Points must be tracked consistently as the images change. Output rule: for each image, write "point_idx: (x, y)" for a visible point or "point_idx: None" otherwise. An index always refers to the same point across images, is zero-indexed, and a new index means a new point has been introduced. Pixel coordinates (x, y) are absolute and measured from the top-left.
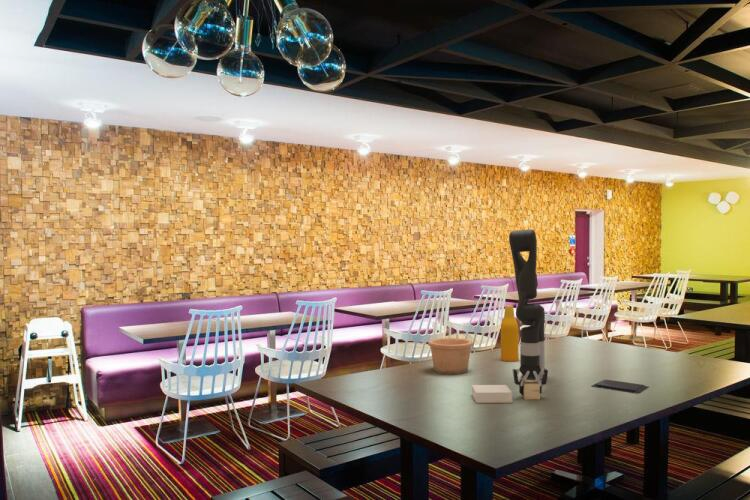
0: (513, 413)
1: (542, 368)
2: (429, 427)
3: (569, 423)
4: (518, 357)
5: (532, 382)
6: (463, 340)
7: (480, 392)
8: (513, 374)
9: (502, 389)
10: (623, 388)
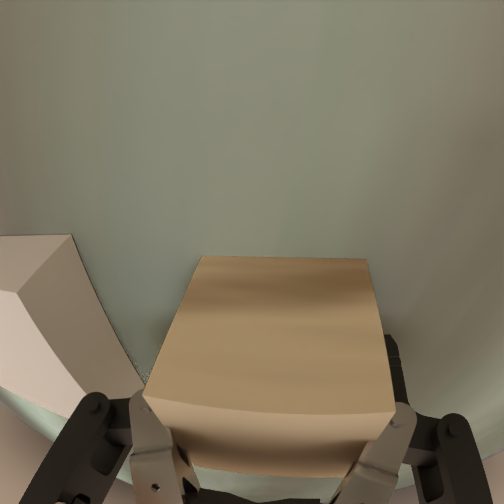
0: None
1: None
2: (44, 431)
3: (319, 489)
4: None
5: (295, 457)
6: None
7: (7, 389)
8: (48, 478)
9: (56, 391)
10: None
